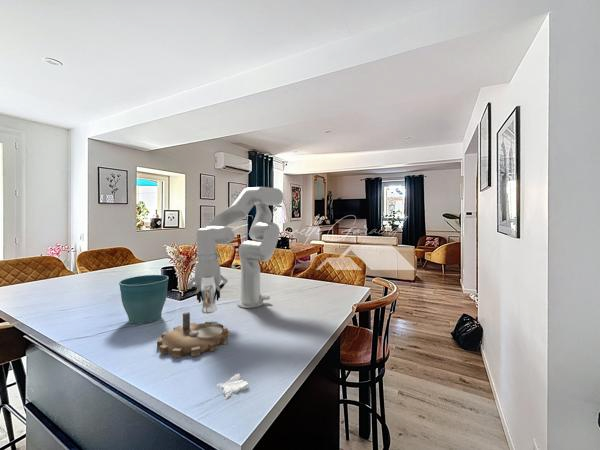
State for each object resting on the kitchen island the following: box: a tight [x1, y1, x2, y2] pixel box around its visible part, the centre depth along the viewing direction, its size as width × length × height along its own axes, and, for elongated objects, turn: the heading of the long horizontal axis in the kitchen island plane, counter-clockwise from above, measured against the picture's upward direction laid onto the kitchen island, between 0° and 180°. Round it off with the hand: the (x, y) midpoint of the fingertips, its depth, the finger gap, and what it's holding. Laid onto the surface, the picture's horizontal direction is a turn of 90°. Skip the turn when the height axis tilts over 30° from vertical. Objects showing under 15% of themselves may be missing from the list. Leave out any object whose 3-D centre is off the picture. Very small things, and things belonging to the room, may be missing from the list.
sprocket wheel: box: [156, 311, 229, 358], centre depth 94 cm, size 23×23×8 cm
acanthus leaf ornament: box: [216, 372, 249, 400], centre depth 69 cm, size 8×7×2 cm
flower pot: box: [118, 274, 169, 325], centre depth 114 cm, size 18×18×17 cm
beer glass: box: [200, 276, 218, 315], centre depth 113 cm, size 7×7×15 cm
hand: (208, 300), depth 113 cm, fingers closed on beer glass, 6 cm apart
